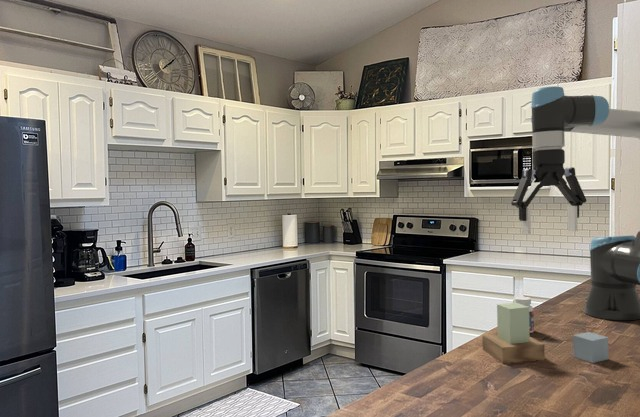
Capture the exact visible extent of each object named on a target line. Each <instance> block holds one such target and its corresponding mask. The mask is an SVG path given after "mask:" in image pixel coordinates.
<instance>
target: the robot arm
mask: <svg viewBox="0 0 640 417" xmlns="http://www.w3.org/2000/svg"><path fill="white" fill-rule="evenodd" d="M530 106H531V107H530V109H531V118H530V120H531V121H530V122H531V130H532V132H531V134H532V138H531V140H532V141H531V142H532V144H531V145H532V148H533V149H534V150H533V151H532V165H533V169H532V168H524V169H522V172H521V179H520V181H519V184H518V185H517V188H516V190H515V193H514V195H513V198H512V200H511V202H510V204H511V206H514V207H516V208H518V220H519V221H521V234H524V235H532V233H531V232H532V227H531V226H532V224H531V222H532V221H531V208H530V207H528V206H529V205H530V204H531V202H532V201H533V200H534V198H535V197H536V195H537V194H538V193H539V191H540V190H541V188H543V187H549V186H553V187H556V188H557V189H558V191H560V193H561V194H562V195H563V197H564V199H565V200H566V201H567V202H568V203H569V204H570V205H567V206H566V207H567V209H566V210H567V213H566V214H567V215H566V216H567V232H568V231H569V232H578V219H579V218H580V206H583V204H584V203H587V198H586V196H585V194H584V191H583V189H582V187H581V184H580V182H579V180H578V178H577V175H576V168H575V167H571V166H570V167H564V164H565V163H566V162H565V161H566V157H565V156H566V155H565V150H564V149H563V148H564V147H565V146H566V144H565V133H566V132H567V133H579V134H587V135H590V134H591V135H600V136H601V135H602V136H613V137H624V138H635V139H638V140H640V111H639V110H628V109H627V110H626V109H616V108H615V109H614V108H610V103H609V102H608V100H607V98H605V97H604V96H602V95H593V94H591V95H566V94H565V91H564V87H561V86H544V87H543V86H542V87H540V88H537V89H535V90H533V92H532V94H531V105H530ZM563 176H564V177H565V179H564V177H563ZM533 177H534V179H533V180H532V178H533ZM589 248H590V249H589V257H590V263H589V264H590V289H589V291H588V296H587V298H586V302H585V303H584V313H585V314H586V315H588V316H591V317H592V318H593V317H595V318H598V319H603V320H604V319H605V320H612V321H613V320H614V321H634V320H640V296H639V293H638V291H637V285H638V286H640V230H638V231H637V234H636V235H615V236H601V237H594V238H592V240H590V247H589Z"/></svg>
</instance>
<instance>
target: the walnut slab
mask: <svg viewBox="0 0 640 417" xmlns="http://www.w3.org/2000/svg"><path fill="white" fill-rule="evenodd" d="M482 350H483V351H484V352H485V353H487V354H488V355H489V356H491V357H492V358H494V359H495V360H496V361H498V360H499V361H498V362H499V363H501V362H502V363H501V364H511V363H510V362H514V363H523V362H522V361H526V362H534V361H536V360H538V361H545V357H546V353H545V351H546V350H545V343H543V342H541V341H539V340H538V339H535V338H533V337H531V336H530V342H523V343H515V344H509V343H507V342H505V341H503V340H501V339H499V338H498V333H495V334H483V335H482Z"/></svg>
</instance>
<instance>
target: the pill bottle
mask: <svg viewBox="0 0 640 417" xmlns="http://www.w3.org/2000/svg"><path fill="white" fill-rule="evenodd" d="M514 303H519V304H522V305H524V306H527V307H529V334H532V333H534V332H535V318H534V317H535V316H534V315H535V314H534V312H535V311H534V307H533V306H531V305H532V298H531V297H527V296H516V297H515V298H514Z"/></svg>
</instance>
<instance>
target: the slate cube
mask: <svg viewBox="0 0 640 417" xmlns="http://www.w3.org/2000/svg"><path fill="white" fill-rule="evenodd" d="M572 350H573V351H572V355H573V357H574V358H577V359H579V360H583V361H586V362H588V363H591V364H595V363H599V362H602V361H606V360H607V361H608V360H609V337H608V336H604V335H601V334H599V333H598V334H597V333H593V332H590V331H587V332H583V333H577V334H573V335H572Z"/></svg>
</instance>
